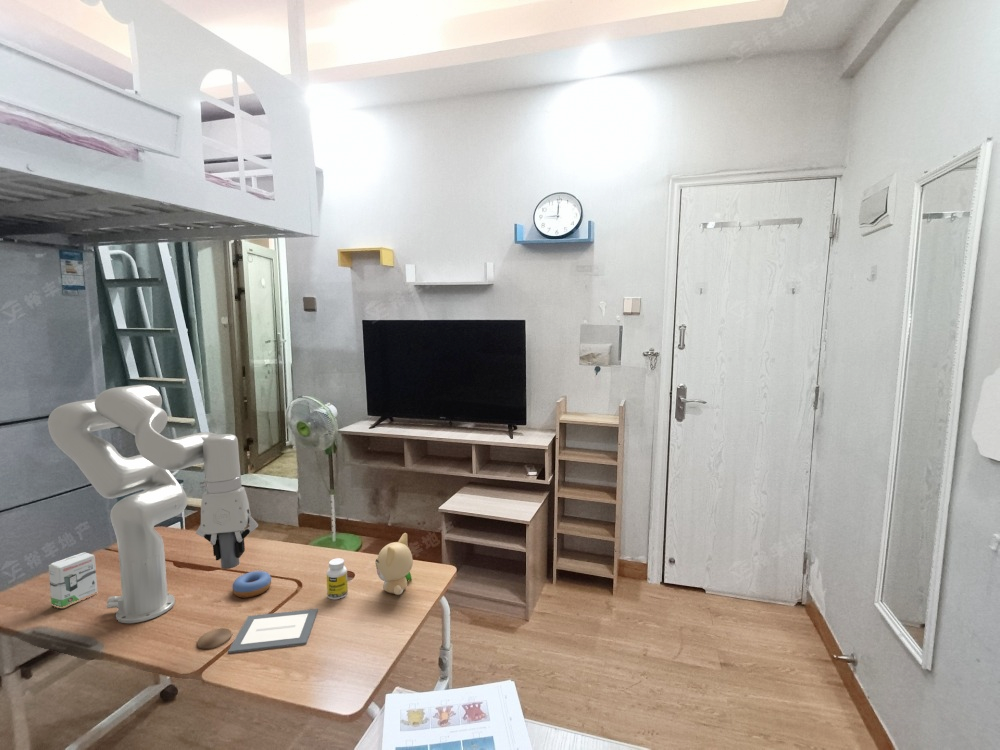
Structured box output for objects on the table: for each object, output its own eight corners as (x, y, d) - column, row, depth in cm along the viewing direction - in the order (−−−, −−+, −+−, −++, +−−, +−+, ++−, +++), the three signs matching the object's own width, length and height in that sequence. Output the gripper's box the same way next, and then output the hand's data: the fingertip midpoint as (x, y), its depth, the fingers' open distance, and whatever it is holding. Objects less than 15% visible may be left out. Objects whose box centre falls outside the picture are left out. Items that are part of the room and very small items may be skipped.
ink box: (61, 610, 127) (58, 568, 126) (50, 607, 129) (46, 564, 128) (98, 594, 136) (95, 553, 134) (87, 590, 137) (84, 551, 136)
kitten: (393, 574, 146) (391, 526, 144) (423, 578, 143) (422, 529, 142) (366, 600, 131) (364, 547, 130) (399, 606, 129) (397, 552, 127)
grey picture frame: (228, 653, 110) (227, 650, 110) (248, 617, 124) (248, 615, 124) (306, 644, 113) (306, 641, 113) (317, 610, 127) (317, 608, 127)
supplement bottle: (326, 601, 131) (325, 567, 130) (328, 591, 136) (326, 558, 135) (347, 598, 132) (346, 564, 131) (348, 588, 138) (346, 555, 137)
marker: (218, 570, 117) (214, 526, 116) (224, 562, 121) (220, 520, 120) (236, 567, 118) (232, 524, 117) (241, 560, 122) (238, 518, 121)
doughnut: (260, 576, 144) (258, 562, 144) (279, 587, 139) (277, 573, 138) (226, 594, 136) (224, 579, 136) (245, 607, 131) (242, 592, 130)
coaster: (192, 650, 111) (192, 648, 111) (205, 632, 118) (204, 630, 118) (225, 647, 112) (224, 644, 112) (235, 629, 119) (235, 626, 119)
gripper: (179, 493, 113) (186, 568, 114) (255, 486, 116) (261, 559, 118) (193, 483, 120) (199, 554, 122) (264, 477, 123) (269, 546, 125)
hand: (229, 556), depth 120 cm, fingers closed on marker, 3 cm apart
